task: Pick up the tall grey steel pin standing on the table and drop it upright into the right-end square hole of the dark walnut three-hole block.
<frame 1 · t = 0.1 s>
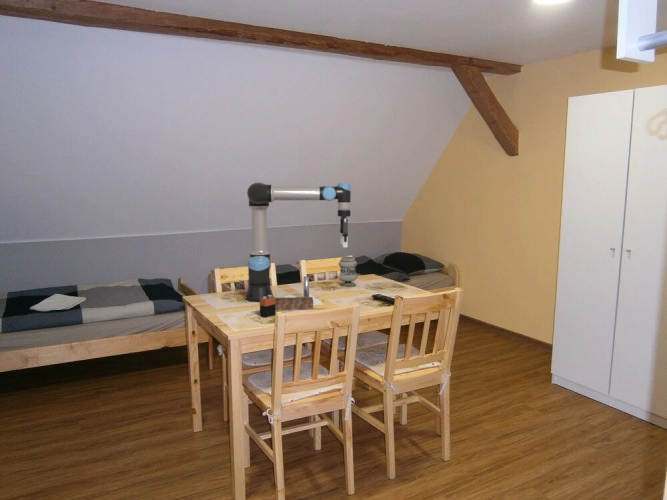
hand: (343, 245, 292), 28 cm above the table, tool pointing down, fingers open, 13 cm apart
apothecary jar: (348, 285, 315), on the table
pin: (306, 301, 272), on the table
hole block: (290, 307, 259), on the table
battery: (267, 316, 245), on the table
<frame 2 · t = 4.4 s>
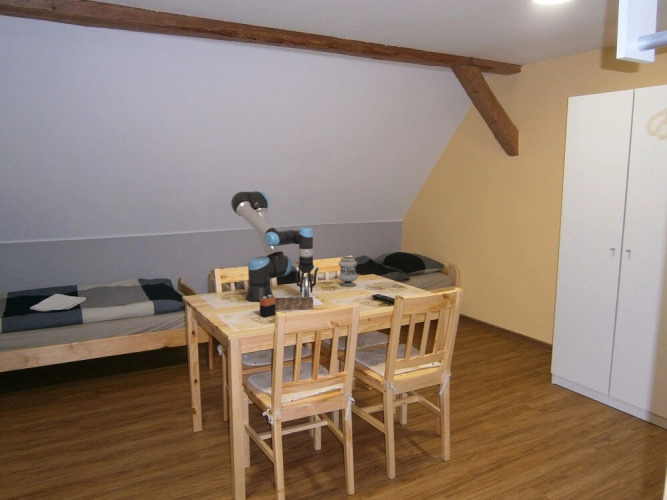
hand: (306, 298, 272), 2 cm above the table, tool pointing down, fingers closed on pin, 3 cm apart
pin: (306, 301, 272), on the table, touching gripper
everything else where it was.
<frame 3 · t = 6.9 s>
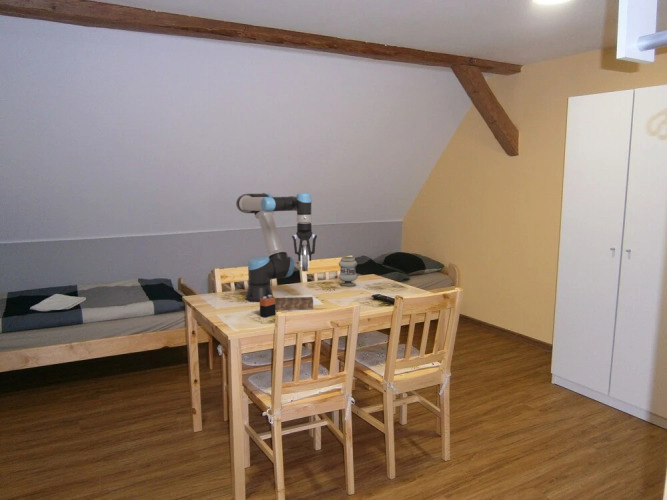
hand: (304, 267, 261), 21 cm above the table, tool pointing down, fingers closed on pin, 3 cm apart
pin: (304, 270, 262), point 19 cm above the table, touching gripper
everything else where it was.
when the fingers open (6 cm above the table, at t = 9.5 s): pin drops 2 cm, resting on hole block.
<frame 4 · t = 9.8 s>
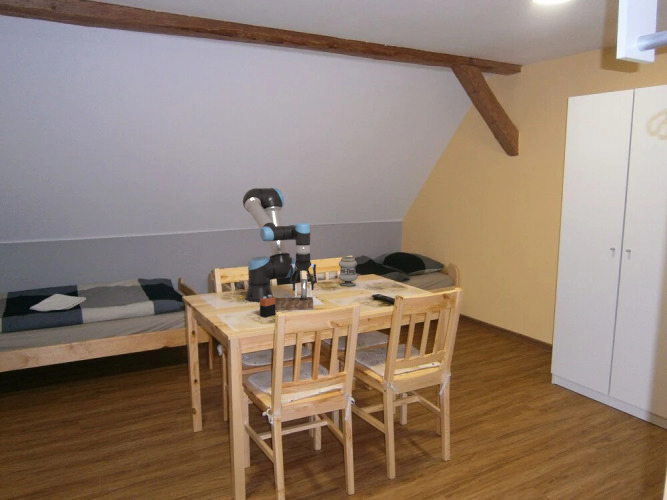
hand: (303, 296, 259), 6 cm above the table, tool pointing down, fingers open, 7 cm apart
pin: (303, 305, 260), point 1 cm above the table, touching hole block
everything else where it was.
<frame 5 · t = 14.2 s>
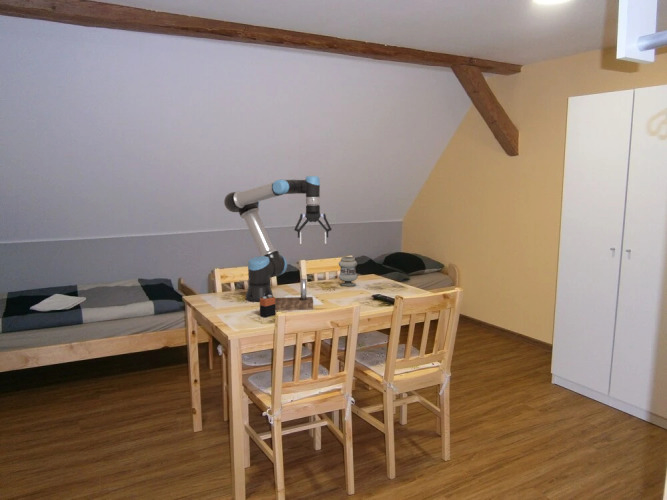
hand: (313, 243, 272), 32 cm above the table, tool pointing down, fingers open, 13 cm apart
nothing on the table moved.
at the end: pin 0.1 cm from the target spot on the hole block, point 1.0 cm above the hole block's base; pin tilted 1°; the gripper is holding nothing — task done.
